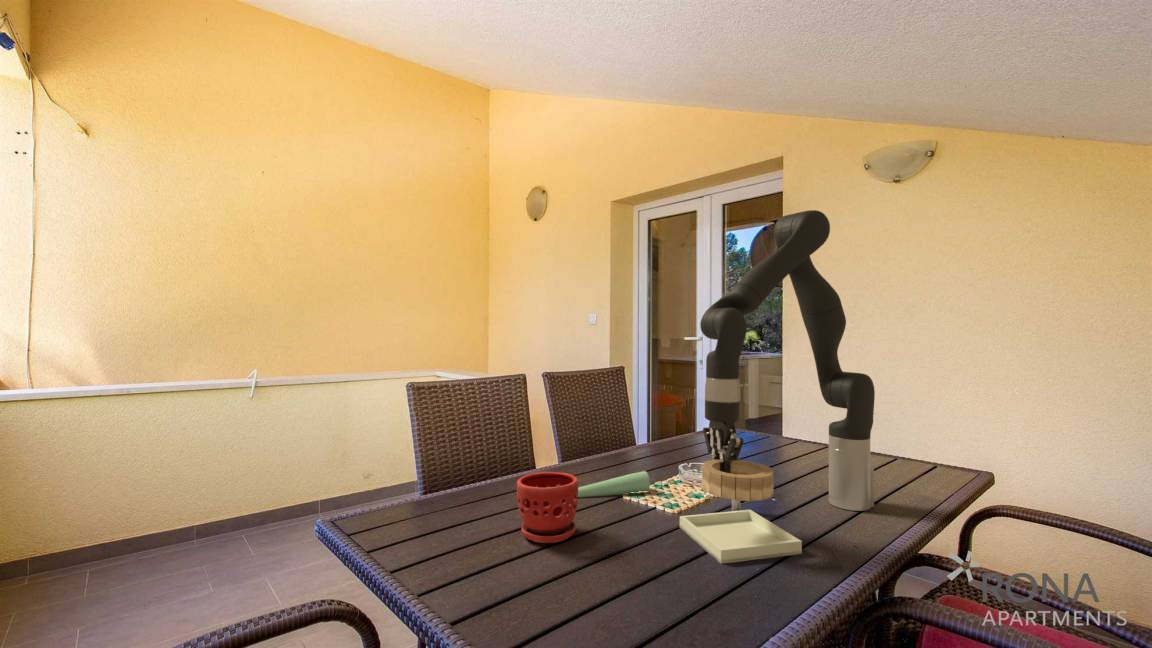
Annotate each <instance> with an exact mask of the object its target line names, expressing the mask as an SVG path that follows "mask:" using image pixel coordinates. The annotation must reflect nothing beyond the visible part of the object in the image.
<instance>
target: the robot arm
mask: <svg viewBox="0 0 1152 648" xmlns="http://www.w3.org/2000/svg"><path fill="white" fill-rule="evenodd" d="M773 230H774V231H773V233H774V234H773V235H774V241H775V244H776V248H777V249H776V250H775V251H774V252H772V254H770V255H768V256H767V257H765V258H764V259H762V260H761V261H760V262H758V263H757V264H756V265H754V266H753V267H752V268H750V269H749V270H748V271H747V272H746V273H744V275H743V276H742V277H741V278H740V279H739V281H738V282H737V283H736V284H735V285H734V287H732V289H731V290H730V291H728V292H727V293H725V295H723V296H722V297H720V298H719V299H718V300H717V301H716V302H713V304H712V305H711V306H709V307H708V308H707V309H706V310H705V312H704V313H703V315H702V317H701V320H700V324H699V325H700V330H701V332H702V334H703V335H704V336H705V337H706V338H707V339H711V340H716V346H715V348H714V350H712V351H710V352H708V353H707V355H706V360H705V362H706V363H705V365H706V366H705V369H706V371H705V385H704V418H705V419H706V420H708V421H709V424H708V426H707V427H703V428H702V431H703V437H704V440H705V444H706V449H707V453H708V454H711V458H713V460H718V459H720V461H721V462H720V471H721V472H725V473H730V474H731V462H732V461H737V460H739V456H740V453H741V450H742V447H743V445H744V438H743V437H738V435H737V428H736V423H737V422H739V421H740V419H741V383H740V358H741V354H742V352H743V346H744V344H745V341H746V335H747V330H748V329H747V327H748V326H747V321H746V318H745V316H746V315H748V314H751V313H754V312H755V311H756V310H757V309H758V308H759V307H760V306H761V305H762V304H763V302H765V300H766V299H767V298H768V297H769V296H770V294H771V293H772V292H773V291H774V289H776V288H777V286H778V285H779V284H780V283H781V282H782V281H783V280H784V279H786V277H788V276H789V278H790V280H791V281H790V282H791V285H792V287H793V290H794V293H795V296H796V299H797V303H798V307H799V310H800V313H801V317H802V321H803V324H804V327H805V330H806V333H807V335H808V339H809V343H810V346H811V350H812V353H813V354H812V355H813V357H814V363H815V367H816V372H817V379H818V384H819V388H820V393H821V395H822V397H823V401H824V402H826V404H828V405H829V406H831V407H833V408H834V407H835V408H838V409H839V408H841V409H844V410H845V409H846V414H845V415H846V416H845V418H843V419H841V420H837V421H833V422H831V423H829V425H828V503H829V504H830V505H832V506H834V507H836V508H839V509H843V510H846V511H856V512H857V511H858V512H864V511H865V512H866V511H868V510H870V509H872V508H875V506H874V505H875V470H874V468H873V467H871V462H872V461H871V459H872V458H871V451H872V450H871V433H872V429H873V424H874V415H875V414H874V411H875V394H876V393H875V392H876V391H875V386H874V382H873V380H872V378H871V377H870V376H869V375H867V374H866V373H860V372H851V371H850V372H849V371H843V370H842V368H841V365H840V361H839V357H838V350H839V346H840V344H841V341H842V339H843V336H844V333H845V330H846V327H847V326H846V325H847V318H846V315H845V311H844V308H843V305H842V301H841V298H840V296H839V294H838V293H837V291H836V289H834V287H833V286H832V285H831V284H830V282H828V280H827V279H825V278H824V276H823V275H821V273H820V272H819V271H818V270H817V268H816V267H815V265H814V263H813V261H812V259H811V255H812V254H814V253H815V252H816V251H818V250H819V249H820V248H821V247H822V246H823V245H824V244H825V243H826V242H827V240H828V238H829V236H830V232H831V224H830V220H829V218H828V216H826V214H825V213H824V212H822V211H820V210H815V209H812V210H804V211H799V212H795V213H791V214H787V215H783V216H781V217H780V218H779V219H778V220H777V221H776V223H775V225H774V229H773Z"/></svg>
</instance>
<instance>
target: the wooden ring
mask: <svg viewBox="0 0 1152 648" xmlns="http://www.w3.org/2000/svg"><path fill="white" fill-rule="evenodd" d="M720 462H721V461H720V459H718V460H714V459H711V460H705V461H704V462H703V463H702V464H701V487H702V490H703V491H705V492H707V493H708V494H709V495H713V496H715V497H719V498H722V499H727V500H731V501H732V500H735V499H736V500H740V502H741V501H742V502H743V501H744V502H756V501H765V500H767V499H771V498H772V497H773V495H774V470H773V469H772V468H771V467H770V466H768V465H765V464H762V463H760V462H759V463H758V462H755V461H751V460H745V459H744V460H743V459H737V461H732V462H731V474H730V473H725V472H721V471H720Z"/></svg>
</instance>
